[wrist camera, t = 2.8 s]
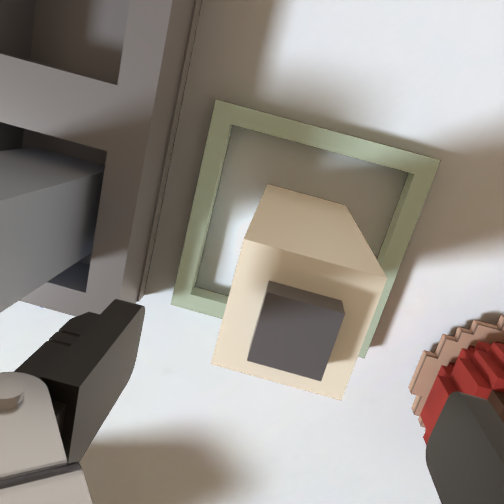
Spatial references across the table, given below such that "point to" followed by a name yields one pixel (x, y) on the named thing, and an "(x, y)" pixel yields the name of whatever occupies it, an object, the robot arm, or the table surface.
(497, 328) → the cake
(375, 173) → the table surface
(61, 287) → the outlet strip
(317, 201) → the plug
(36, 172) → the blue-grey knobbed block
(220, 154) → the tray frame
